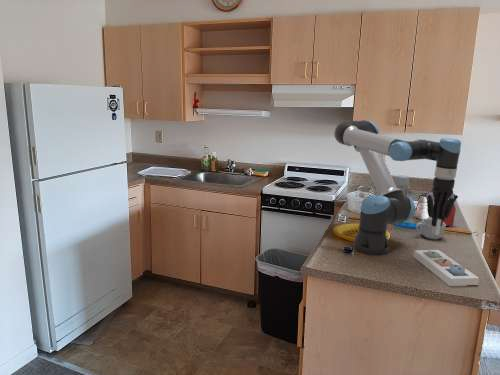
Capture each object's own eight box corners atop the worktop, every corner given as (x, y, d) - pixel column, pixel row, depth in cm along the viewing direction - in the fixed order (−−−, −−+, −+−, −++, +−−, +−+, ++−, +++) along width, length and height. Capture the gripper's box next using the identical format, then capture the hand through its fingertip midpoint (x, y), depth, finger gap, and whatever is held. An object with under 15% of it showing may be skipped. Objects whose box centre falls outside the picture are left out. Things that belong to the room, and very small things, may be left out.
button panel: (449, 286, 140) (451, 278, 140) (413, 256, 165) (414, 250, 165) (477, 285, 141) (479, 278, 141) (437, 256, 166) (438, 250, 166)
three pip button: (441, 271, 151) (442, 263, 150) (434, 265, 155) (435, 258, 155) (453, 271, 151) (454, 263, 150) (445, 265, 156) (446, 258, 155)
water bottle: (387, 219, 216) (392, 175, 210) (396, 217, 219) (402, 174, 213) (400, 224, 208) (405, 179, 202) (410, 222, 211) (416, 177, 206)
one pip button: (429, 262, 158) (430, 255, 157) (423, 257, 163) (424, 250, 162) (441, 262, 159) (442, 255, 158) (434, 257, 164) (435, 250, 163)
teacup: (438, 234, 194) (441, 219, 192) (447, 242, 184) (449, 226, 182) (410, 232, 196) (412, 217, 194) (417, 240, 185) (419, 224, 183)
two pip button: (454, 277, 142) (455, 269, 142) (446, 271, 147) (447, 264, 147) (466, 277, 143) (468, 269, 142) (458, 271, 148) (459, 263, 147)
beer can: (436, 223, 211) (440, 202, 208) (448, 223, 212) (451, 202, 209) (443, 227, 205) (447, 205, 202) (455, 227, 205) (459, 205, 202)
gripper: (434, 179, 148) (425, 237, 154) (465, 180, 150) (455, 236, 156) (423, 175, 156) (415, 230, 162) (454, 175, 157) (444, 230, 163)
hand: (435, 233), depth 159 cm, fingers closed
